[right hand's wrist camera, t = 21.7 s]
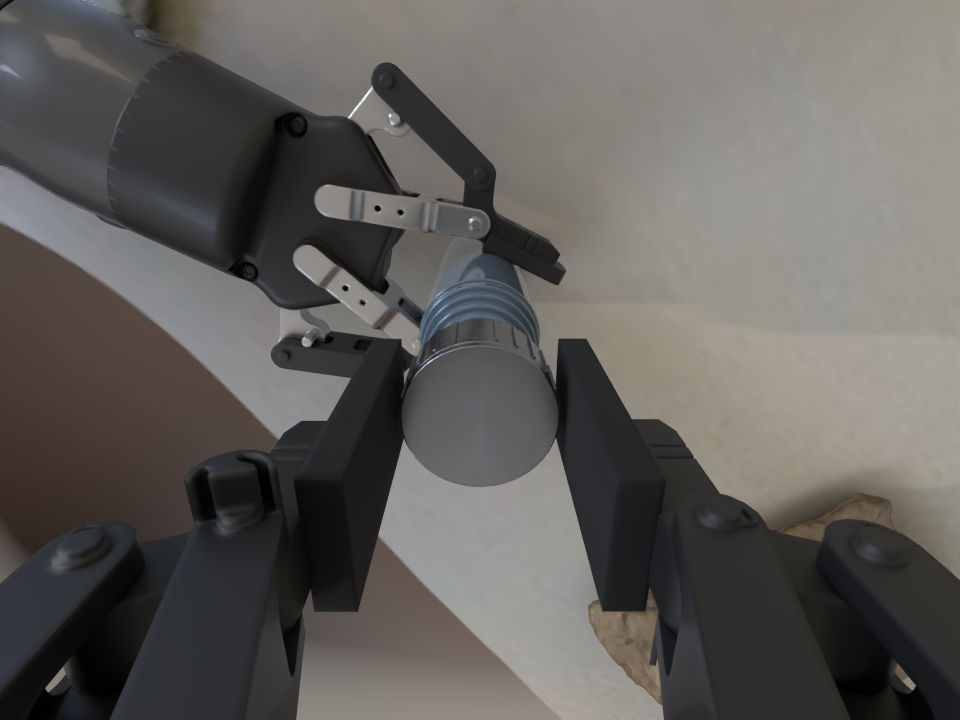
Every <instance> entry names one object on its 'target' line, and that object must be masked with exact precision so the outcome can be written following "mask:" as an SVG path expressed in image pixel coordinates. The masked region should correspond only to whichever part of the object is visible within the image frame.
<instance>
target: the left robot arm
mask: <svg viewBox="0 0 960 720" xmlns="http://www.w3.org/2000/svg"><path fill="white" fill-rule="evenodd" d="M371 82H372V87H371V89H370V90H369V91H368V93H367V94H366V95H365V96H364V98H363V99H362V100H361V102H360V103H359V104H358V105H357V107H356V108H355V109H354V111H353V112H352V113H351V114H350V116H349V117H348V118H346V117H343V116H319V115H316V114H314V113H312V112H310V111H308V110H306V109H304V108H302V107H300V106H298V105H296V104H294V103H292V102H290V101H288V100H286V99H284V98H282V97H280V96H278V95H276V94H274V93H272V92H271V91H269V90H267V89H265V88H263V87H261V86H259V85H257V84H255V83H253V82H251V81H249V80H247V79H245V78H243V77H241V76H239V75H237V74H235V73H233V72H231V71H230V70H228V69H226V68H224V67H222V66H220V65H218V64H216V63H214V62H212V61H210V60H208V59H206V58H204V57H202V56H201V55H198V54H196V53H194V52H192V51H190V50H188V49H187V48H185V47H183V46H181V45H179V44H177V43H175V42H173V41H171V40H170V39H168V38H166V37H165V36H163V35H161V34H159V33H156V32H154V31H152V30H150V29H148V28H146V27H144V26H142V25H140V24H138V23H136V22H133V21H131V20H129V19H127V18H124V17H122V16H120V15H117V14H114V13H112V12H109V11H106V10H104V9H101V8H98V7H95V6H92V5H89V4H87V3H84V2H81V1H79V0H0V165H2V166H4V167H6V168H8V169H10V170H12V171H14V172H16V173H18V174H20V175H22V176H24V177H25V178H27V179H29V180H30V181H32V182H34V183H35V184H37V185H38V186H40V187H42V188H43V189H45V190H47V191H49V192H50V193H52V194H54V195H56V196H57V197H59V198H61V199H63V200H65V201H67V202H69V203H71V204H73V205H75V206H77V207H79V208H81V209H84V210H86V211H88V212H90V213H93V214H95V215H96V216H97V217H99V219H100V220H102V221H104V222H106V223H108V224H111V225H113V226H116V227H119V228H122V229H128V230H130V231H133V232H135V233H137V234H139V235H142V236H144V237H146V238H148V239H151V240H153V241H155V242H157V243H160V244H162V245H164V246H166V247H169V248H171V249H173V250H175V251H177V252H180V253H182V254H184V255H186V256H189V257H191V258H193V259H195V260H198V261H200V262H202V263H204V264H207V265H209V266H211V267H213V268H215V269H218V270H220V271H222V272H224V273H227V274H229V275H232V276H235V277H238V278H241V279H243V280H246V281H249V282H251V283H253V284H254V285H256V286H257V287H259V288H260V289H261V290H262V291H263V292H264V293H265V294H266V295H267V297H268V298H269V299H270V300H271V301H272V302H273V303H274V304H276V305H277V306H279V307H280V340H279V342H278V343H277V345H276V346H274V348H273V349H272V351H271V358H272V360H273V362H274V363H275V364H276V365H277V366H279V367H281V368H285V369H292V370H299V371H306V372H313V373H320V374H327V375H334V376H341V377H348V378H352V376H353V375H354V373H355V371H356V369H357V367H358V366H359V364H360V362H361V360H362V359H363V357H364V355H365V353H366V352H367V350H368V348H369V346H370V344H371V343H372V341H373V339H382V338H375V337H368V336H361V335H354V334H348V333H341V332H334V331H330V328H329V326H328V324H327V323H326V322H324V321H323V320H321V319H317V318H315V317H313V316H312V315H311V314H310V313H309V311H308V309H307V308H313V307H318V306H324V305H330V304H336V303H343V304H344V305H345V306H346V307H347V308H349V309H350V310H351V311H352V312H354V313H355V314H356V315H357V316H358V317H360V318H361V319H362V320H363V321H365V322H366V323H367V324H368V325H369V326H371V327H373V328H375V329H380V330H382V331H383V332H385V333H386V334H387V335H388V336H389V337H391V338H392V339H402V355H403V372H405V371H406V370H407V369H408V368H409V367H410V366H411V364H412V360H413V358H414V356H417V354H418V353H419V351H420V349H421V348H420V325H421V321H422V318H423V315H424V311H423V310H422V309H420V308H419V307H418V306H417V305H416V304H415V303H413V302H412V301H411V300H410V299H409V298H408V297H407V296H406V295H405V294H404V292H403V290H402V289H401V288H400V287H399V286H398V285H397V284H396V283H395V282H393V281H392V280H391V279H390V278H389V277H388V276H386V274H387V271H388V269H389V267H390V261H391V254H392V248H393V247H394V245H395V244H396V243H397V242H398V240H399V239H400V238H401V237H402V235H403V234H404V232H405V229H407V230H413V231H418V232H435V233H441V234H447V235H453V236H459V237H464V238H470V239H477V240H479V241H481V242H482V247H483V249H484V250H486V251H488V252H490V253H492V254H494V255H496V256H498V257H501V258H503V259H504V260H506V261H508V262H510V263H512V264H514V265H516V266H518V267H520V268H522V269H524V270H526V271H528V272H530V273H532V274H534V275H536V276H538V277H540V278H542V279H544V280H546V281H548V282H550V283H553V284H555V285H559V283H560V282H561V280H562V278H563V276H564V274H565V273H566V270H565V268H564V267H563V265H562V264H560V263H559V262H557V259H558V258H559V256H560V254H559V252H558V251H557V250H556V248H555V247H554V246H553V245H552V244H551V243H550V241H549V240H548V239H546V238H544V237H542V236H540V235H538V234H536V233H534V232H532V231H530V230H528V229H526V228H524V227H522V226H520V225H518V224H516V223H514V222H512V221H511V220H509V219H507V218H505V217H503V216H501V215H499V214H498V213H497V212H496V211H495V209H494V207H493V194H494V185H495V179H496V171H495V168H494V166H493V165H492V163H491V162H490V161H489V160H488V159H487V158H486V157H485V156H484V155H483V154H482V153H481V152H480V151H479V150H478V149H477V148H476V147H475V146H474V145H473V144H472V143H471V142H470V141H469V140H468V139H467V138H466V137H465V136H464V135H463V134H462V133H461V132H460V131H459V129H458V128H457V127H456V126H455V125H454V124H453V123H452V122H451V121H450V120H449V119H448V118H447V117H446V116H445V115H444V114H443V113H442V112H441V111H440V110H439V109H438V108H437V107H436V106H435V105H434V104H433V103H432V102H431V101H430V100H429V99H428V98H427V97H426V96H425V95H424V94H423V93H422V92H421V91H420V90H419V89H418V87H417V86H416V85H415V84H414V83H413V82H412V81H411V80H410V79H409V78H408V77H407V76H406V75H405V74H404V73H403V72H402V71H401V70H400V69H399V68H398V67H397V66H395V65H394V64H392V63H381V64H379V65H378V66H377V67H376V68H375V69H374V71H373V73H372V77H371ZM377 130H385V131H387V132H388V133H389V134H391V135H393V136H396V137H405V136H408V135H409V134H410V133H411V132H412V131H413V130H414V131H415V132H416V133H417V134H418V135H419V136H420V137H421V138H422V139H423V140H424V141H425V142H426V143H427V144H428V145H429V146H430V147H431V148H432V149H433V150H434V151H435V152H436V153H437V154H438V155H439V156H440V157H441V158H442V159H443V160H444V161H445V162H446V163H447V164H448V165H449V166H450V167H451V168H452V169H453V170H454V171H455V172H456V173H457V174H458V175H459V176H460V177H461V178H462V179H463V180H464V181H465V187H464V198H463V201H461V200H455V199H450V198H444V197H440V196H437V195H433V194H428V193H422V192H417V191H411V190H405V189H400V187H399V185H398V183H397V182H396V180H395V178H394V176H393V174H392V173H391V171H390V169H389V167H388V165H387V164H386V162H385V160H384V158H383V156H382V155H381V153H380V151H379V149H378V147H377V146H376V144H375V142H374V140H373V138H372V137H371V134H372V133H373V132H375V131H377ZM362 300H364V301H365V302H363V301H362Z"/></svg>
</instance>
